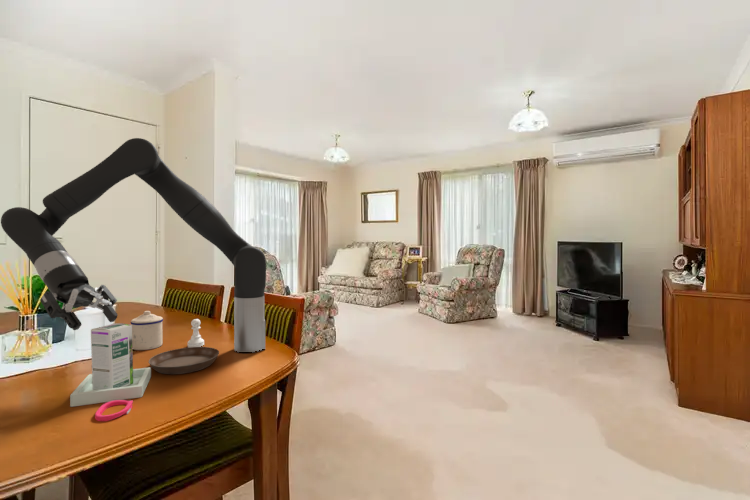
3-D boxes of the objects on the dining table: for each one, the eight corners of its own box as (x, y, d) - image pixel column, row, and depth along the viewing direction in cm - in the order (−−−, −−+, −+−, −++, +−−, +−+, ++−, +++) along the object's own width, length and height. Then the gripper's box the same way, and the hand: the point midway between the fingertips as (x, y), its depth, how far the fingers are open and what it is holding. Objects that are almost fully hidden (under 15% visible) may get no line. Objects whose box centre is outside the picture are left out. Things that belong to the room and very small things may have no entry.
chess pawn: (184, 346, 123) (184, 319, 122) (200, 342, 126) (200, 316, 126) (191, 349, 119) (191, 321, 119) (207, 345, 123) (206, 319, 123)
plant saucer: (132, 372, 99) (132, 361, 99) (187, 353, 116) (187, 343, 116) (183, 382, 93) (182, 370, 93) (232, 360, 110) (232, 350, 110)
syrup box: (111, 393, 83) (110, 329, 83) (91, 390, 85) (90, 327, 84) (133, 384, 89) (133, 324, 88) (114, 381, 90) (113, 322, 90)
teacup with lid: (166, 341, 127) (165, 308, 127) (159, 349, 119) (159, 313, 118) (125, 344, 123) (124, 309, 123) (116, 352, 115) (115, 315, 114)
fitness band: (125, 420, 74) (125, 412, 74) (90, 425, 72) (90, 417, 72) (135, 402, 82) (135, 396, 82) (104, 406, 80) (104, 399, 79)
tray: (150, 376, 96) (150, 367, 96) (142, 396, 84) (141, 386, 84) (89, 384, 90) (89, 374, 90) (70, 406, 79) (70, 395, 78)
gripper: (35, 264, 83) (73, 319, 80) (98, 261, 97) (133, 307, 94) (19, 287, 85) (56, 341, 82) (83, 280, 98) (117, 327, 96)
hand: (97, 323), depth 88 cm, fingers open, 8 cm apart
